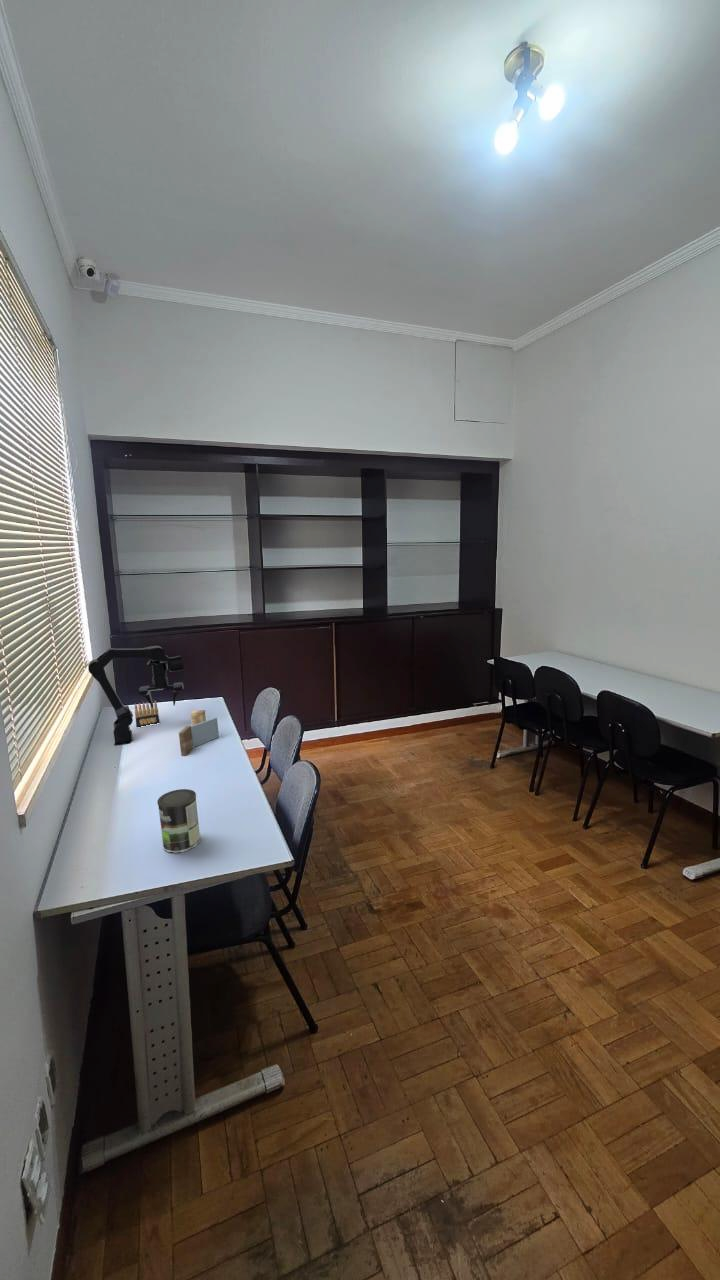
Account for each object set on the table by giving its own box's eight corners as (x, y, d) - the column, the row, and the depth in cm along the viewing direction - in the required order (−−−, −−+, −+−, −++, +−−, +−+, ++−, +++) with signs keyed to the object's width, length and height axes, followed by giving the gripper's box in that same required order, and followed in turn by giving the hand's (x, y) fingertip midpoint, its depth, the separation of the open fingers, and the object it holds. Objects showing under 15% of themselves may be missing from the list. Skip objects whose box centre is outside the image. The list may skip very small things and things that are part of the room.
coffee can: (172, 858, 140) (167, 810, 137) (157, 843, 147) (151, 798, 144) (207, 842, 147) (202, 796, 144) (190, 829, 154) (185, 785, 151)
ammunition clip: (136, 728, 248) (133, 704, 245) (136, 726, 249) (133, 703, 247) (160, 724, 252) (157, 700, 249) (159, 723, 253) (157, 699, 251)
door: (192, 746, 220) (190, 726, 218) (217, 736, 230) (215, 717, 228) (193, 746, 219) (191, 726, 217) (219, 737, 229) (217, 717, 227)
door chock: (193, 740, 228) (190, 713, 225) (196, 736, 232) (193, 710, 229) (204, 739, 227) (201, 712, 225) (207, 736, 231) (204, 710, 229)
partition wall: (181, 756, 210) (178, 732, 208) (188, 748, 218) (186, 726, 216) (186, 755, 210) (183, 732, 208) (193, 748, 218) (190, 725, 216)
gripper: (182, 667, 243) (186, 699, 245) (140, 671, 238) (144, 704, 241) (180, 672, 232) (184, 706, 235) (136, 677, 227) (140, 711, 230)
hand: (163, 706), depth 235 cm, fingers open, 9 cm apart
